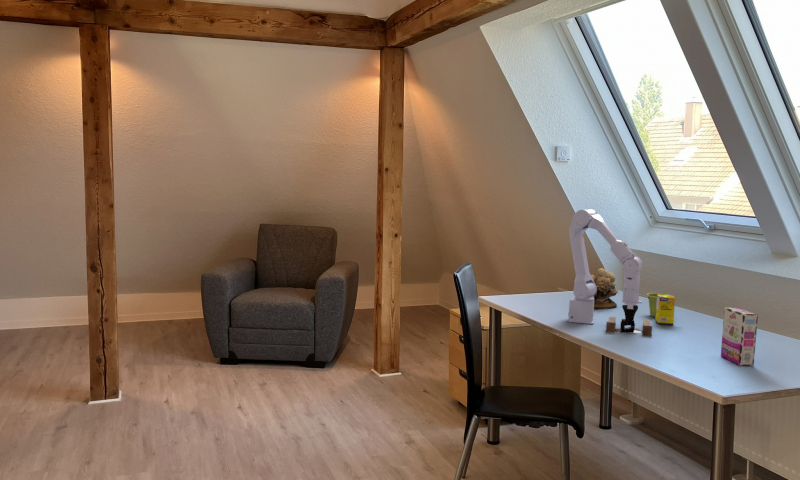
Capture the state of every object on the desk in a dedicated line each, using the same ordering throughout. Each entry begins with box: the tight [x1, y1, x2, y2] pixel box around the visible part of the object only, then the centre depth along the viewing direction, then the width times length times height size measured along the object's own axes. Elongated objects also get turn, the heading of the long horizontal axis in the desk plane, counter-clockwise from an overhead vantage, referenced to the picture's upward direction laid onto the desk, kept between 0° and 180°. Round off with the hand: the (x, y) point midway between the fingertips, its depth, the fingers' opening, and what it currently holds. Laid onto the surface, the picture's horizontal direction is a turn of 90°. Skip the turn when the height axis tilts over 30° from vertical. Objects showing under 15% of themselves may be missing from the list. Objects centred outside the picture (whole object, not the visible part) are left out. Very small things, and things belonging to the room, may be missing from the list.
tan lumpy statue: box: [590, 267, 619, 310], centre depth 300 cm, size 18×12×17 cm, turn 107°
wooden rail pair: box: [605, 316, 653, 337], centre depth 258 cm, size 16×14×4 cm
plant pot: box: [646, 292, 669, 318], centre depth 283 cm, size 9×9×9 cm
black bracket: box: [615, 318, 642, 334], centre depth 256 cm, size 12×7×5 cm, turn 97°
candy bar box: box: [720, 307, 759, 367], centre depth 217 cm, size 11×5×16 cm, turn 5°
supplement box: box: [654, 294, 676, 326], centre depth 269 cm, size 6×6×11 cm
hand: (629, 324), depth 260 cm, fingers closed
